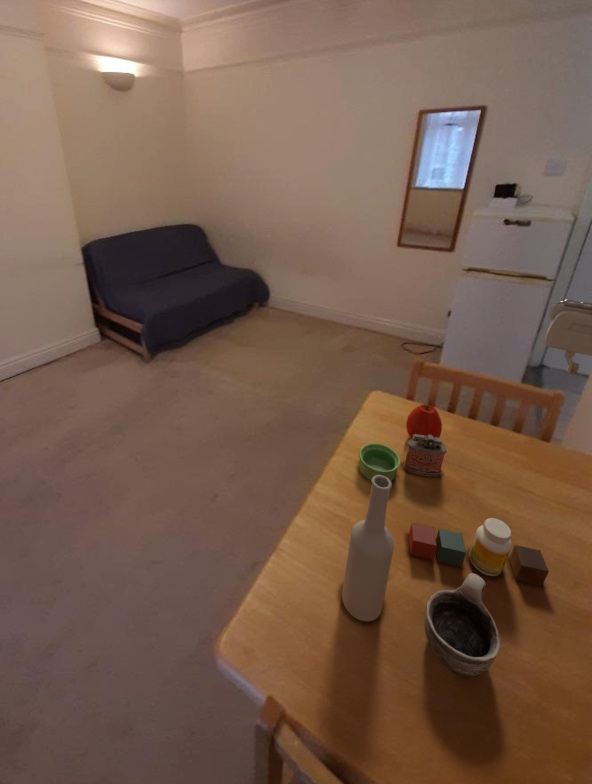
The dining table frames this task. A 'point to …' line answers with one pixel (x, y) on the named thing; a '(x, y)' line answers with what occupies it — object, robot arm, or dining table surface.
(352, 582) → the bottle
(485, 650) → the mug
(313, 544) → the dining table surface
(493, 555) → the supplement bottle
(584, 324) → the robot arm
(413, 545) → the red cube
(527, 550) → the brown block
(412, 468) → the lighter
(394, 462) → the ramekin
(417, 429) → the apple
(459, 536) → the block
